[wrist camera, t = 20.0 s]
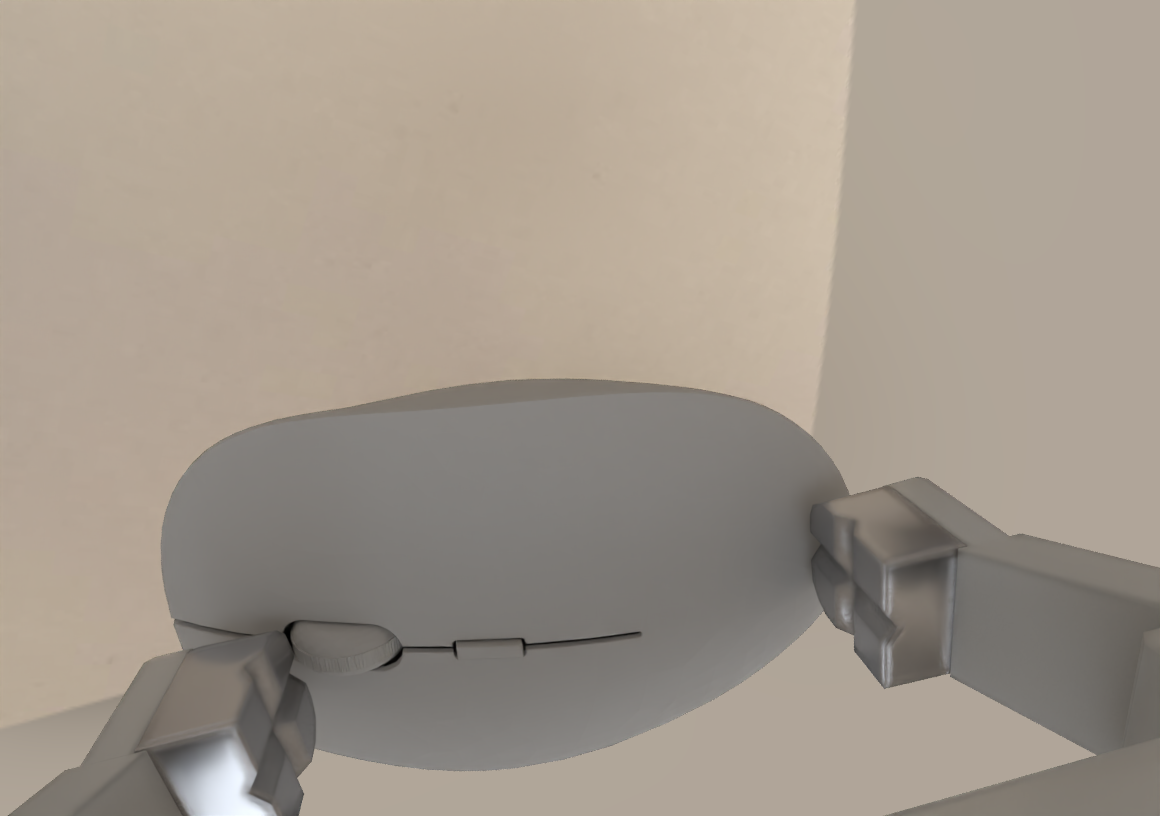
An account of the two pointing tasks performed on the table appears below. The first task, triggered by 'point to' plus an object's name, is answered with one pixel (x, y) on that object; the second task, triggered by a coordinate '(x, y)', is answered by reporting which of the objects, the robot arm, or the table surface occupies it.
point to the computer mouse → (505, 561)
